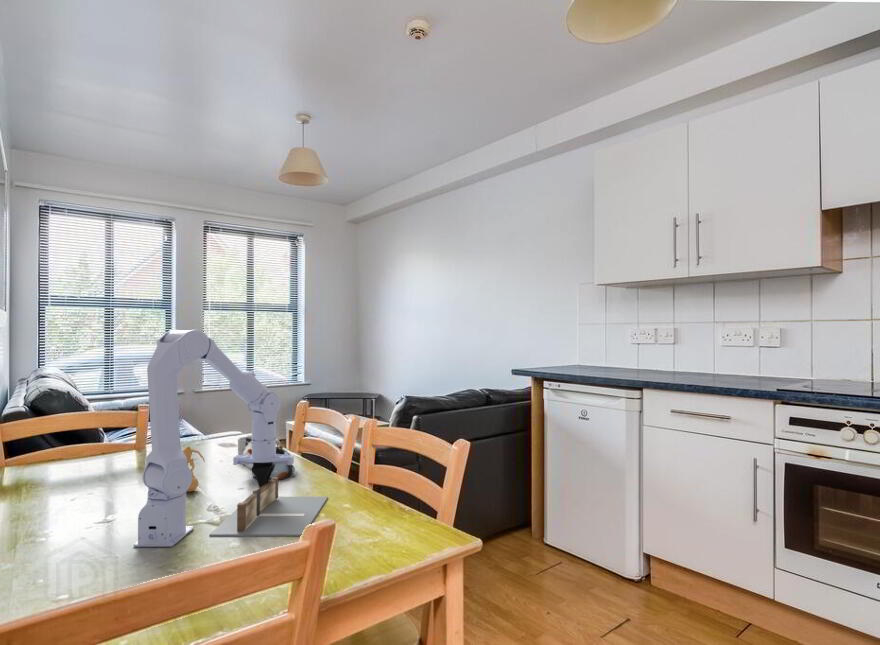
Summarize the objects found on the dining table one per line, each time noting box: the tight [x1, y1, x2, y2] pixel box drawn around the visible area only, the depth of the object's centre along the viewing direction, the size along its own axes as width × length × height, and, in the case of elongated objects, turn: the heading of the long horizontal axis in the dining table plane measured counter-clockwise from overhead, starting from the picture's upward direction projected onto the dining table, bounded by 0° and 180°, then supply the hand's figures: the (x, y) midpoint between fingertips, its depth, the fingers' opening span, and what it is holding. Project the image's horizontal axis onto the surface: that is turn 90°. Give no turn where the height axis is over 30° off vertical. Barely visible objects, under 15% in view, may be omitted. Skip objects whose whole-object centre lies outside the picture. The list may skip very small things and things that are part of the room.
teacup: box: [237, 435, 281, 455], centre depth 167 cm, size 14×11×8 cm
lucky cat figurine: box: [243, 438, 296, 481], centre depth 150 cm, size 15×12×14 cm
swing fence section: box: [257, 477, 279, 512], centre depth 124 cm, size 10×1×5 cm, turn 175°
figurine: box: [182, 445, 206, 493], centre depth 137 cm, size 8×6×12 cm
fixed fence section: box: [236, 489, 260, 532], centre depth 114 cm, size 10×2×6 cm, turn 0°
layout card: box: [208, 496, 329, 537], centre depth 119 cm, size 24×20×1 cm
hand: (263, 493), depth 126 cm, fingers closed
